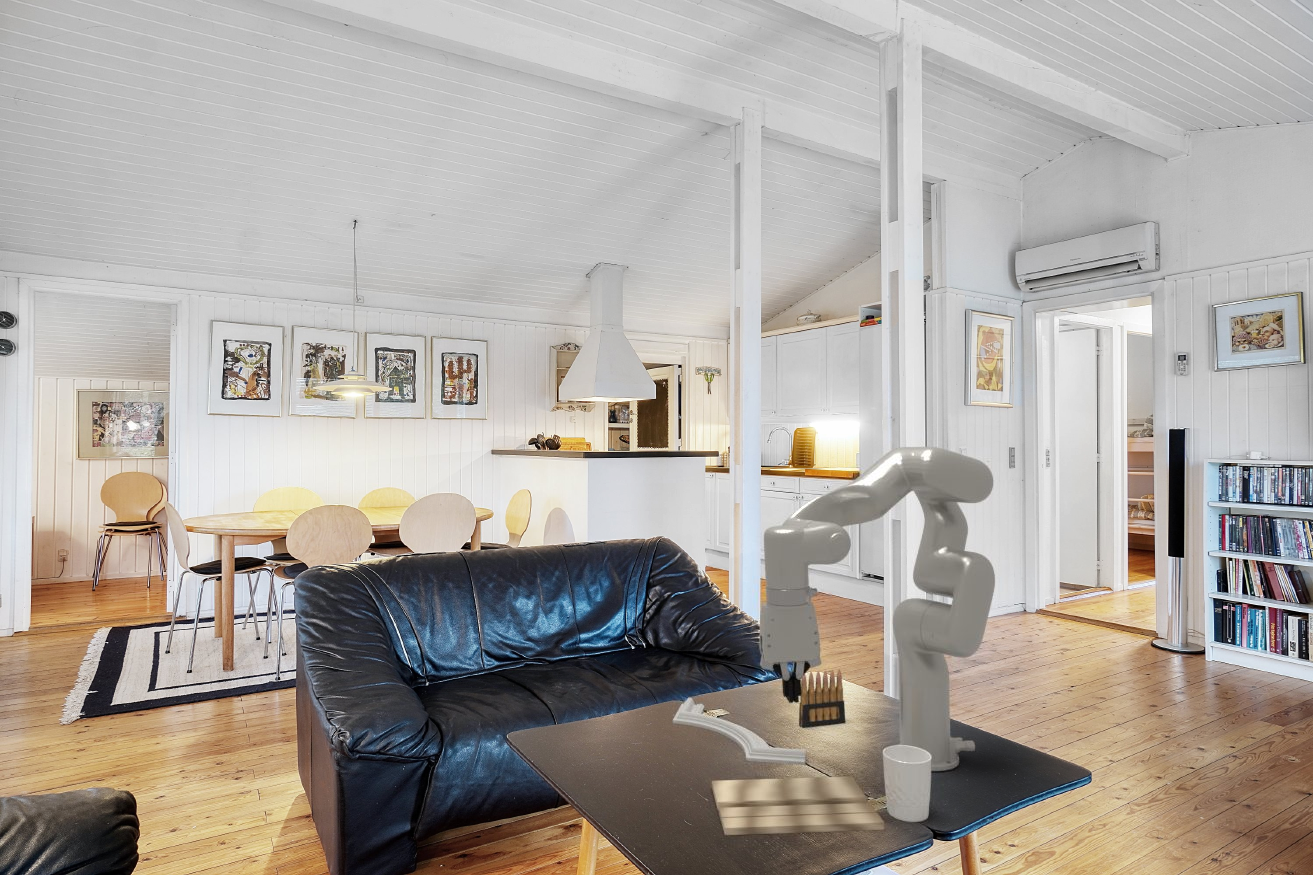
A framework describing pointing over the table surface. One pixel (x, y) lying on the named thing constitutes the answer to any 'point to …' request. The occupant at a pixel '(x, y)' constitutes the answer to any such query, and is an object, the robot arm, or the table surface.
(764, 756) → the molding
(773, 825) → the laid board
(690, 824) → the table surface
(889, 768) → the white cup
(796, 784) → the plank
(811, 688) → the ammunition clip
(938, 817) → the table surface
